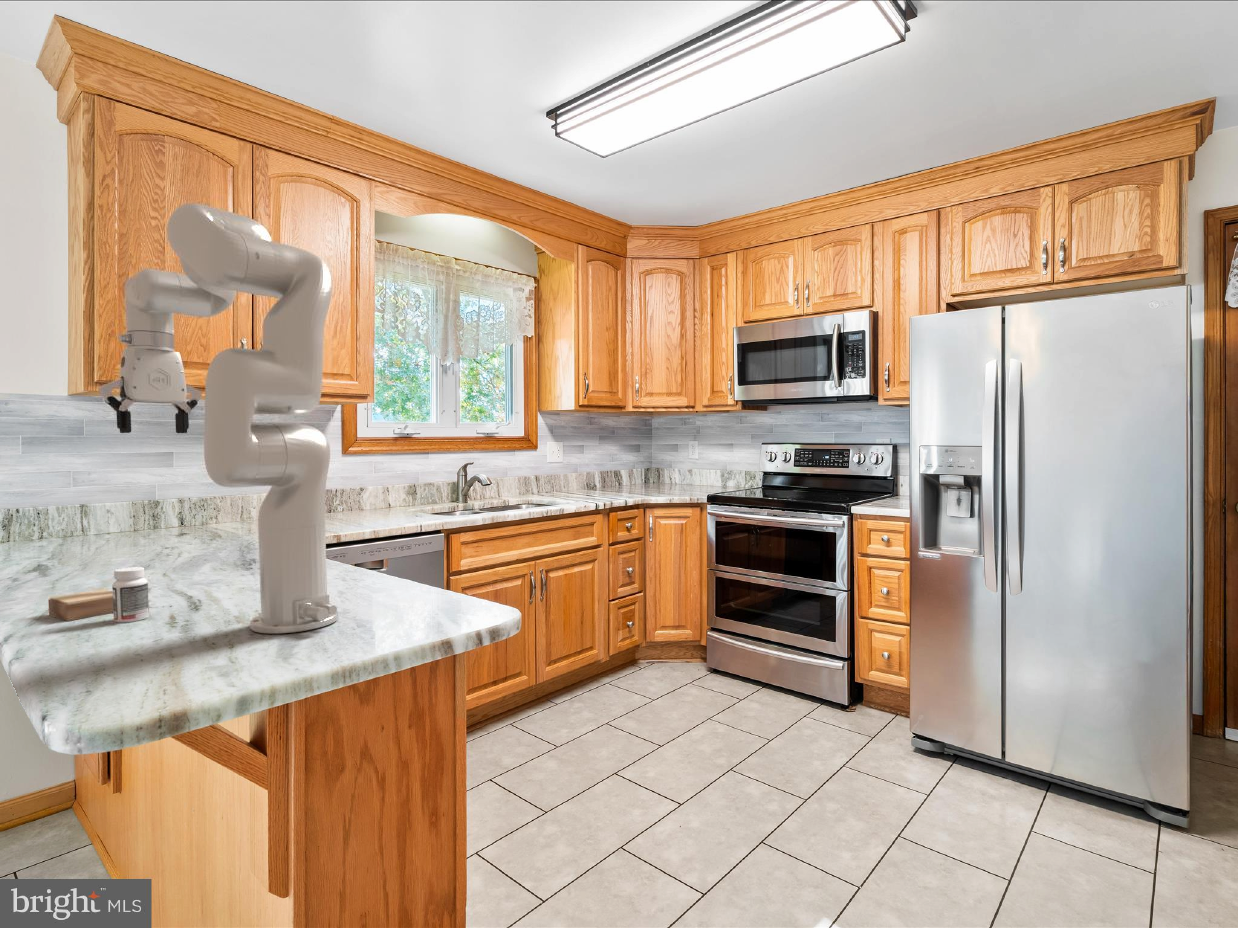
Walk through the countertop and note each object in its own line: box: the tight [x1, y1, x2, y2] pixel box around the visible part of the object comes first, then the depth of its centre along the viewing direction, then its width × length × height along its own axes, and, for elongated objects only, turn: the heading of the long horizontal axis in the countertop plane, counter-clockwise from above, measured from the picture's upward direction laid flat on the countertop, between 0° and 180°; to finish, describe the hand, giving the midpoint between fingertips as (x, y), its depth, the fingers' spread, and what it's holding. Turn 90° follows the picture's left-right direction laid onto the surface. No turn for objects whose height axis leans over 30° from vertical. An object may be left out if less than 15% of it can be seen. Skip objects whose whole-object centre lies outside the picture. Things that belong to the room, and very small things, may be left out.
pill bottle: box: [112, 566, 150, 623], centre depth 111 cm, size 5×5×8 cm
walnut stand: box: [47, 588, 114, 622], centre depth 116 cm, size 8×8×3 cm
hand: (154, 432), depth 130 cm, fingers open, 9 cm apart
